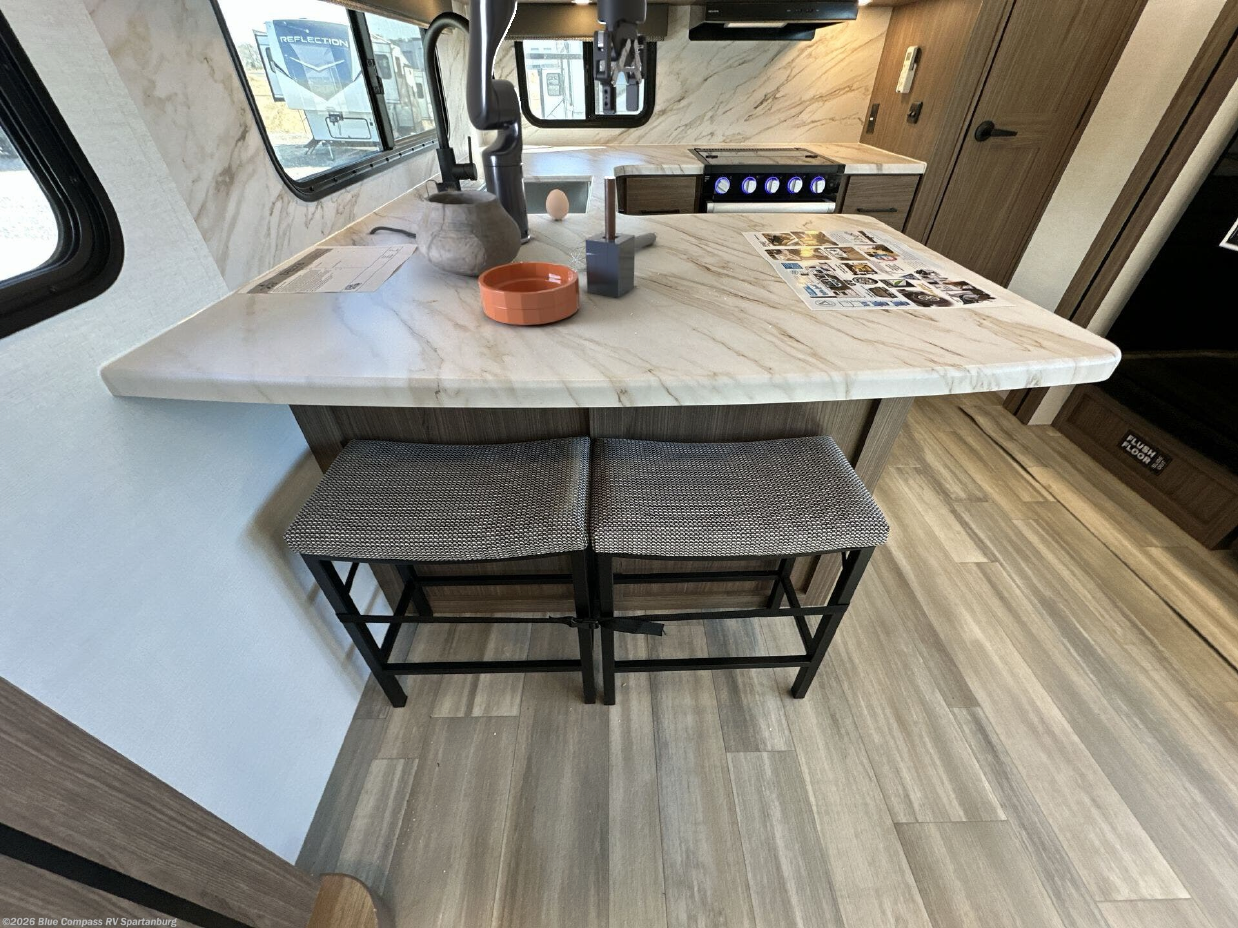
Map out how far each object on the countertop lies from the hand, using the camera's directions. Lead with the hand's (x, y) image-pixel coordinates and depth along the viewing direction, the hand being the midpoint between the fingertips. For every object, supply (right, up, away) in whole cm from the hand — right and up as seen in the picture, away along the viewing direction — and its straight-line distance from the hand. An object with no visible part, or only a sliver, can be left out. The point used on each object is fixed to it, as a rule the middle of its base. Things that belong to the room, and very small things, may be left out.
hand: (621, 113), depth 86 cm
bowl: (-17, -31, +8) cm, 36 cm away
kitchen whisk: (-1, -11, +34) cm, 36 cm away
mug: (-48, +6, +55) cm, 73 cm away
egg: (-18, +12, +63) cm, 67 cm away
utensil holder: (-2, -24, +17) cm, 30 cm away
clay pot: (-32, -17, +26) cm, 45 cm away
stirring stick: (-2, -24, +17) cm, 30 cm away
